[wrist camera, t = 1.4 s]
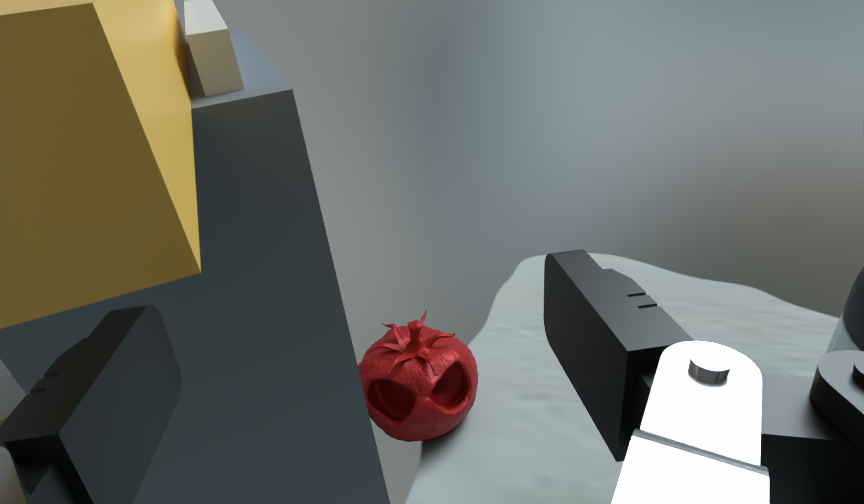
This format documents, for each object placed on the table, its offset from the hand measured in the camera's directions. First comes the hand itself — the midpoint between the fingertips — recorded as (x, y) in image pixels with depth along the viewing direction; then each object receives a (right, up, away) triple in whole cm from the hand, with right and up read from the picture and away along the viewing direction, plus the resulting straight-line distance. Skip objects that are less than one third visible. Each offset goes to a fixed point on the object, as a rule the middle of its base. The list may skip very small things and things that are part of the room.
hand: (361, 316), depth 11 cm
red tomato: (+1, -12, +34) cm, 37 cm away
